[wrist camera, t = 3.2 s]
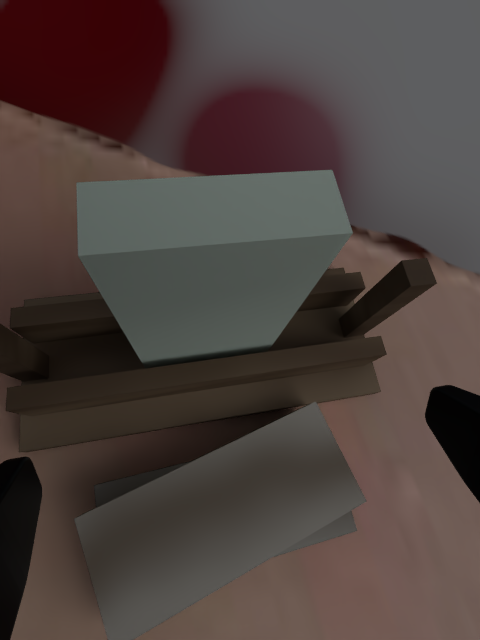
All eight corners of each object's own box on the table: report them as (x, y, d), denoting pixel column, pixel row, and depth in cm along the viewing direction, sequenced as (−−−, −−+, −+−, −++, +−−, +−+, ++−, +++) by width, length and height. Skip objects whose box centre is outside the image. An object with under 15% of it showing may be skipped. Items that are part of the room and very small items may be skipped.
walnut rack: (374, 393, 21) (470, 362, 14) (26, 452, 18) (-93, 452, 10) (338, 273, 23) (403, 193, 16) (30, 305, 20) (-62, 223, 13)
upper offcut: (352, 496, 18) (366, 501, 16) (119, 632, 15) (111, 652, 13) (306, 405, 19) (315, 401, 18) (85, 512, 16) (74, 518, 15)
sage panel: (264, 355, 20) (352, 233, 9) (147, 372, 19) (78, 255, 8) (258, 322, 21) (332, 169, 9) (144, 336, 20) (76, 182, 8)
